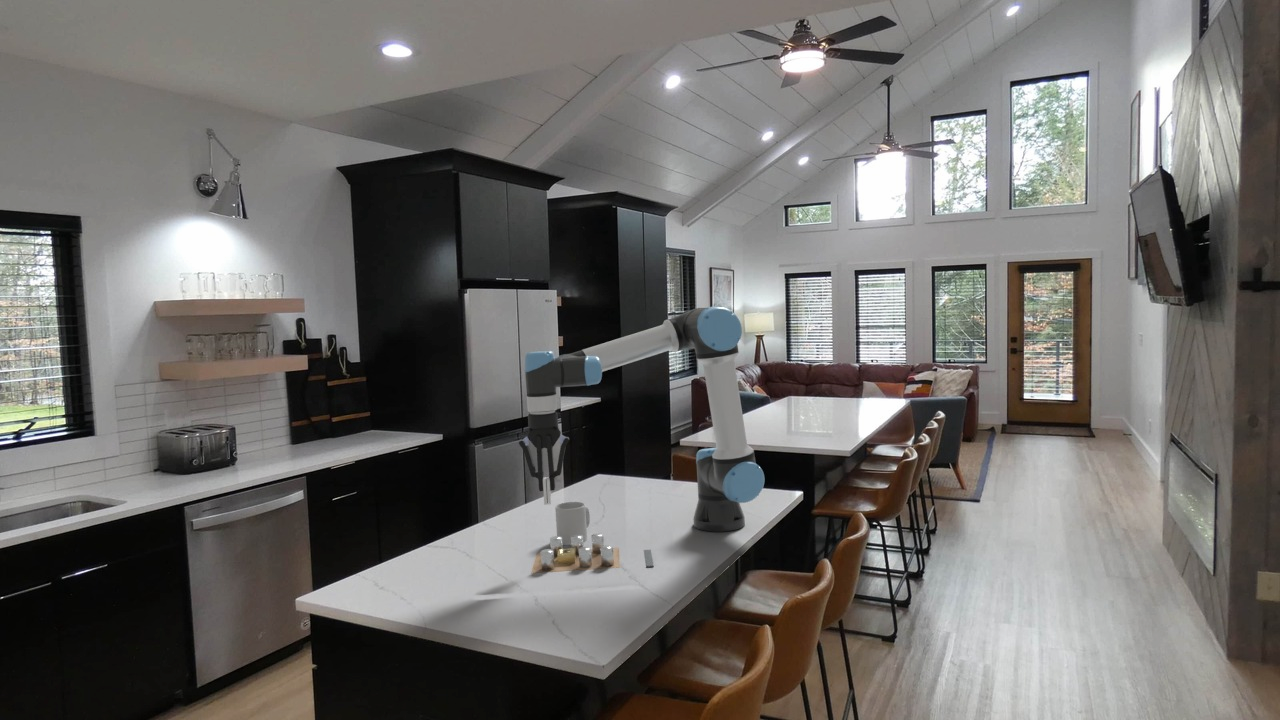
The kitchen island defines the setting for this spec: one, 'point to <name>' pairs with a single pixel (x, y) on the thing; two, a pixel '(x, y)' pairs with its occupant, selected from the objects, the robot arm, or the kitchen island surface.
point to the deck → (575, 566)
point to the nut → (566, 556)
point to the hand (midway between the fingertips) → (548, 503)
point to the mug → (572, 521)
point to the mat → (648, 558)
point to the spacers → (579, 551)
